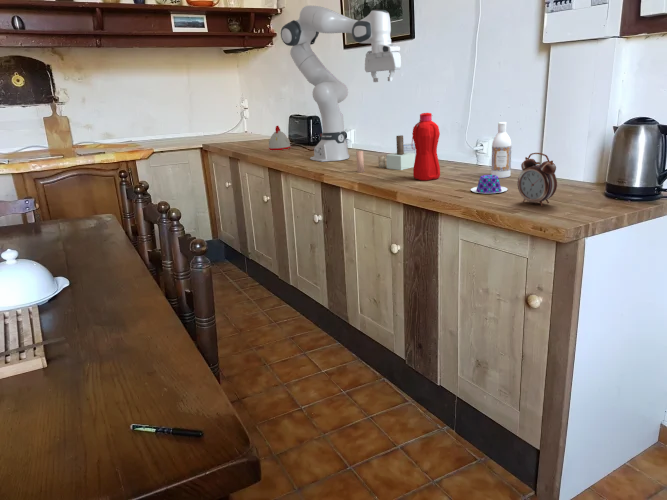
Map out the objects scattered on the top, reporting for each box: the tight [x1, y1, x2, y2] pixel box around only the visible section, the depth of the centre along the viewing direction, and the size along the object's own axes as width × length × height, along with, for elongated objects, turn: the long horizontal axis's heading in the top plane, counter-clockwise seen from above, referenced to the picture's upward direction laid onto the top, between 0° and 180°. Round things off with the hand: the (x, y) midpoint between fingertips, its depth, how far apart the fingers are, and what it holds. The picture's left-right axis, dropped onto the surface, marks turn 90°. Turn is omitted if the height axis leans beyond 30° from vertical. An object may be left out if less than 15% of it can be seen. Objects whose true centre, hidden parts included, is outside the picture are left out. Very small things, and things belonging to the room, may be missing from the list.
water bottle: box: [411, 112, 441, 182], centre depth 198 cm, size 9×11×25 cm
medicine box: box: [403, 143, 416, 157], centre depth 241 cm, size 8×4×9 cm, turn 84°
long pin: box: [395, 134, 404, 155], centre depth 229 cm, size 3×3×14 cm
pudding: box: [470, 174, 508, 195], centre depth 173 cm, size 12×12×5 cm
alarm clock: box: [517, 152, 558, 207], centre depth 150 cm, size 11×5×15 cm, turn 33°
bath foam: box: [490, 121, 513, 179], centre depth 192 cm, size 7×7×20 cm
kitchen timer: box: [268, 125, 292, 151], centre depth 330 cm, size 14×14×15 cm
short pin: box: [377, 155, 386, 169], centre depth 234 cm, size 3×3×5 cm
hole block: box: [385, 152, 415, 171], centre depth 230 cm, size 9×9×6 cm
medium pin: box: [356, 150, 365, 173], centre depth 226 cm, size 3×3×9 cm
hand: (382, 81), depth 233 cm, fingers open, 8 cm apart
